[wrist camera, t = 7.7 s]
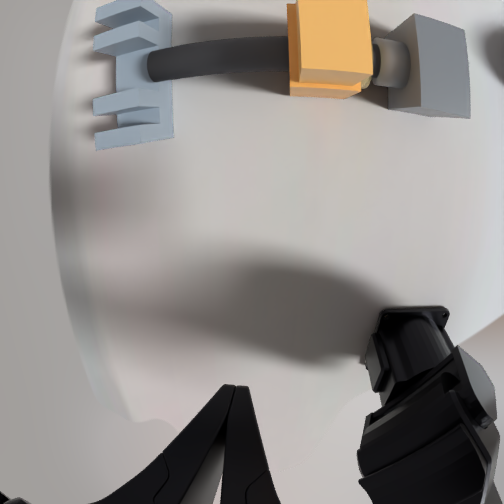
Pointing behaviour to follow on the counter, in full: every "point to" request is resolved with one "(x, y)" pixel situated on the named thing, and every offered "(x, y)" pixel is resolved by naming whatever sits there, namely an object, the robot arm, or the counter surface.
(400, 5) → the counter surface
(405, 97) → the connector
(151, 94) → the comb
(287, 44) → the black rod
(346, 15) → the sleeve
